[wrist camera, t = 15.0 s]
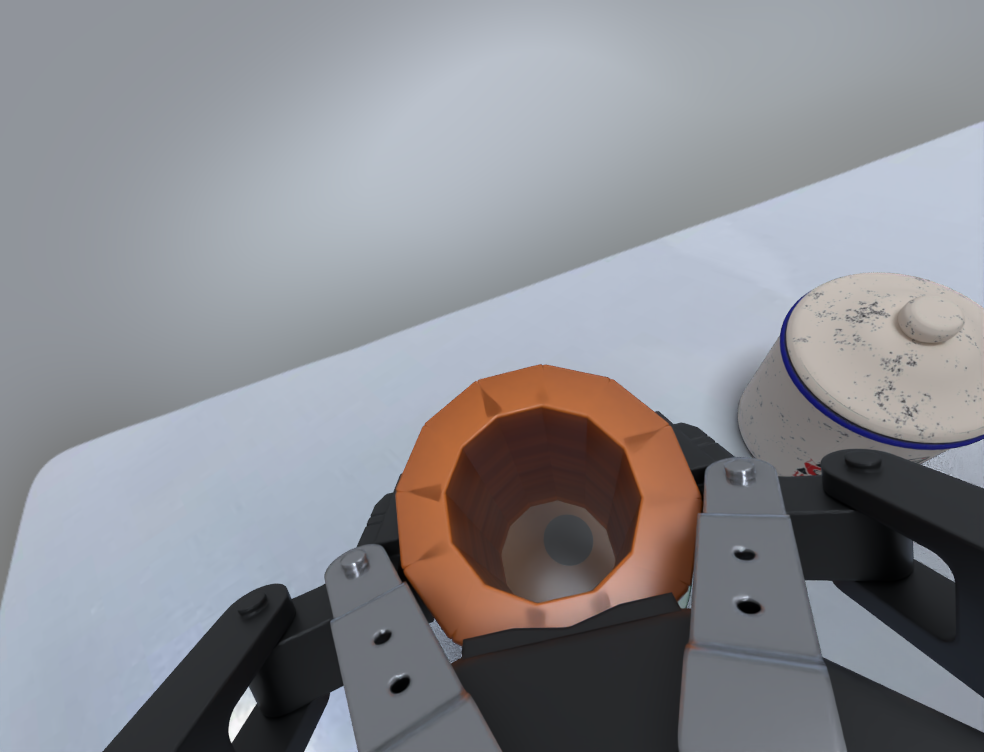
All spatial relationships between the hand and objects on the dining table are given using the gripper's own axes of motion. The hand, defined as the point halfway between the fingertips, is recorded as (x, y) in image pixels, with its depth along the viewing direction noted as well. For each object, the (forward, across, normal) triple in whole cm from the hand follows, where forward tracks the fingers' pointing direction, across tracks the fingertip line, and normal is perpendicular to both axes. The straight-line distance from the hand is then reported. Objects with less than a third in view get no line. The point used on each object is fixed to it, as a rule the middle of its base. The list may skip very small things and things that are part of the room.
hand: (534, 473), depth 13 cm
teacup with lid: (+14, -18, +9) cm, 25 cm away
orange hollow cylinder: (+2, 0, +4) cm, 5 cm away
